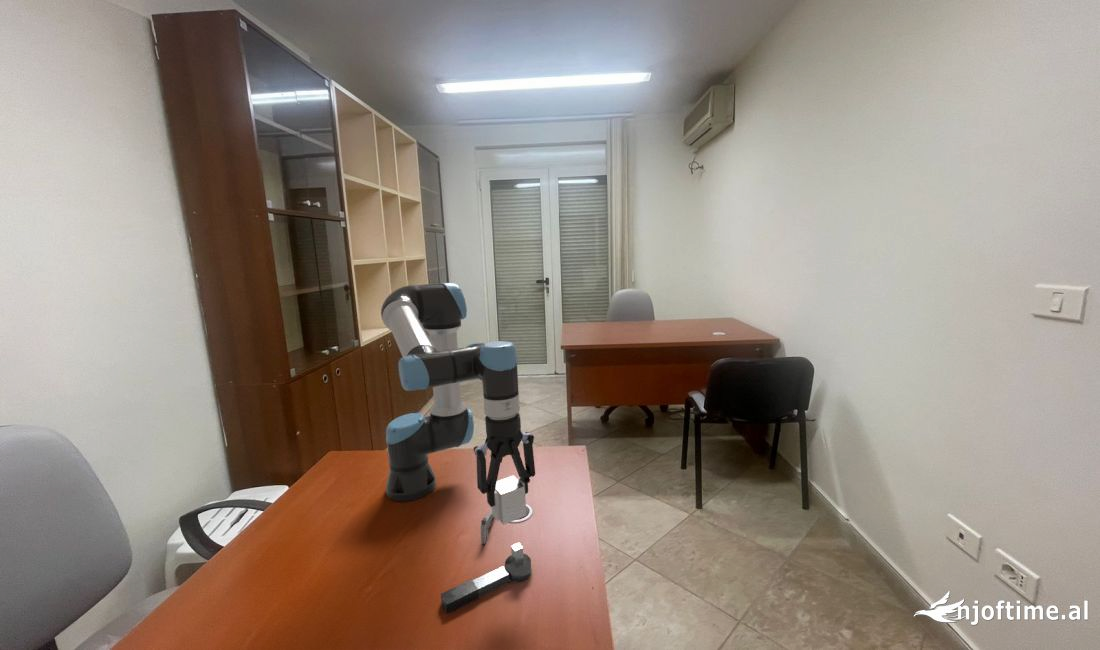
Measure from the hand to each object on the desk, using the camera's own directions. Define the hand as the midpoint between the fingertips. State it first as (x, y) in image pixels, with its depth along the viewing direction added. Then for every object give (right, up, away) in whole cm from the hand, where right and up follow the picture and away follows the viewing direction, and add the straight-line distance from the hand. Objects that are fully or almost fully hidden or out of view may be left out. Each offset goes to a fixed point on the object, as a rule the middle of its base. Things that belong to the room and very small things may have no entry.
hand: (509, 512), depth 91 cm
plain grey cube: (0, 0, 0) cm, 0 cm away
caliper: (-7, -13, +22) cm, 27 cm away
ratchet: (-4, -16, -1) cm, 17 cm away
